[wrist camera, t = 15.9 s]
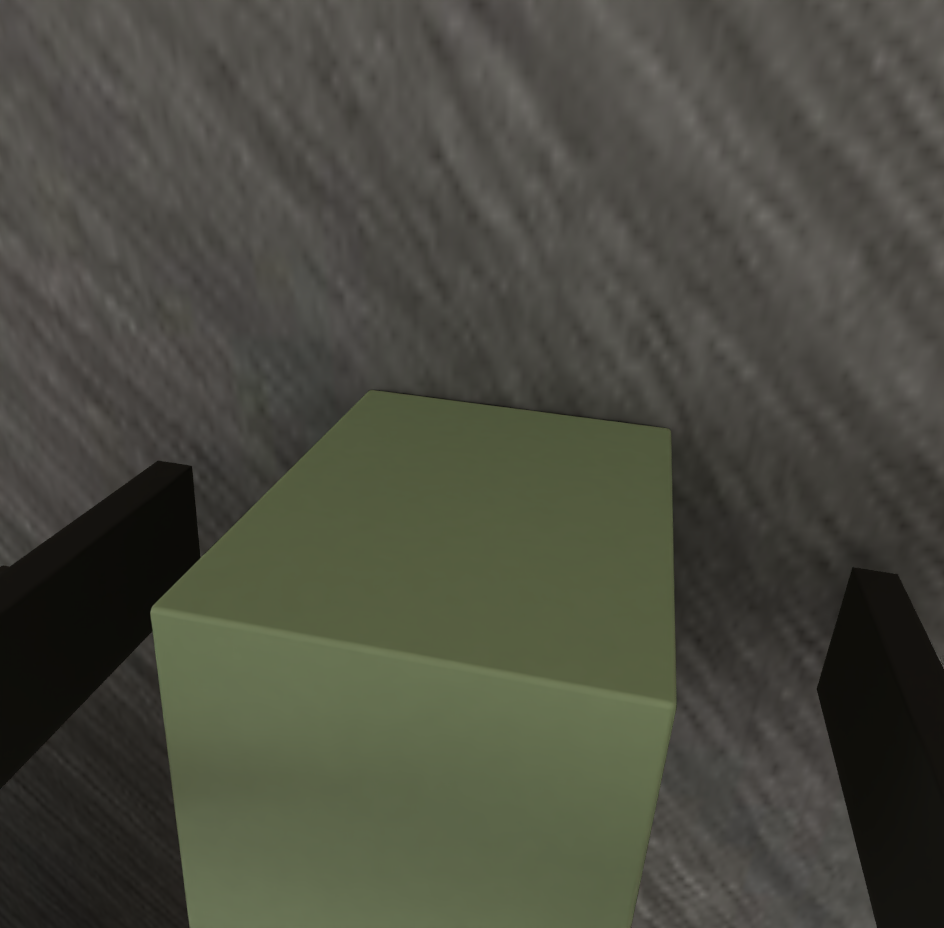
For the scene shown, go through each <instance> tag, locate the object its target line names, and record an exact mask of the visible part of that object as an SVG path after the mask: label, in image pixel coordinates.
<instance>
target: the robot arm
mask: <svg viewBox="0 0 944 928" xmlns="http://www.w3.org/2000/svg"><path fill="white" fill-rule="evenodd" d="M199 559H200V549H199V538H198V527H197V517H196V506H195V495H194V484H193V473H192V466H189V465H182V464H176V463H169V462H163V461H157V462H156V463H154V464H153V465H151V466H150V467H149V468H147V469H146V470H144V471H143V472H142V473H140V474H139V475H137V476H136V477H135V478H133V479H132V480H130V481H129V482H128V483H126V484H125V485H123V486H122V487H121V488H119V489H118V490H116V491H115V492H114V493H112V494H111V495H109V496H108V497H107V498H105V499H104V500H102V501H101V502H100V503H98V504H97V505H95V506H94V507H93V508H91V509H90V510H88V511H87V512H86V513H84V514H83V515H81V516H80V517H79V518H77V519H76V520H74V521H73V522H72V523H70V524H69V525H67V526H66V527H65V528H63V529H62V530H60V531H59V532H58V533H56V534H55V535H53V536H52V537H51V538H49V539H48V540H47V541H45V542H44V543H42V544H41V545H40V546H38V547H37V548H35V549H34V550H33V551H31V552H30V553H28V554H27V555H26V556H24V557H23V558H21V559H20V560H19V561H17V562H16V563H14V564H13V565H12V566H10V567H9V566H1V567H0V789H1V788H2V787H3V786H4V785H5V784H6V783H7V782H8V781H9V780H10V779H11V778H12V776H13V775H14V774H15V773H16V772H17V771H18V770H19V769H20V768H21V767H22V766H23V765H24V764H25V763H26V762H27V761H28V760H29V759H30V758H31V757H32V756H33V755H34V754H35V753H36V752H37V751H38V749H39V748H40V747H41V746H42V745H43V744H44V743H45V742H46V741H47V740H48V739H49V738H50V737H51V736H52V735H53V734H54V733H55V732H56V731H57V730H58V729H59V728H60V727H61V726H62V725H63V724H64V722H65V721H66V720H67V719H68V718H69V717H70V716H71V715H72V714H73V713H74V712H75V711H76V710H77V709H78V708H79V707H80V706H81V705H82V704H83V703H84V702H85V701H86V700H87V699H88V698H89V697H90V695H91V694H92V693H93V692H94V691H95V690H96V689H97V688H98V687H99V686H100V685H101V684H102V683H103V682H104V681H105V680H106V679H107V678H108V677H109V676H110V675H111V674H112V673H113V672H114V671H115V670H116V668H117V667H118V666H119V665H120V664H121V663H122V662H123V661H124V660H125V659H126V658H127V657H128V656H129V655H130V654H131V653H132V652H133V651H134V650H135V649H136V648H137V647H138V646H139V645H140V644H141V643H142V641H143V640H144V639H145V638H146V637H147V636H148V635H149V634H150V633H151V632H152V631H153V630H152V622H151V614H150V612H151V608H152V606H153V605H154V604H155V603H156V602H157V601H158V600H159V599H160V598H161V597H162V596H163V595H164V594H165V593H166V592H167V591H168V590H169V589H170V588H171V587H172V586H173V585H174V584H175V583H176V582H177V581H178V580H179V579H180V578H181V577H182V576H183V575H184V574H185V573H186V572H187V571H188V570H189V569H190V568H191V567H192V566H193V565H194V564H195V563H196V562H197V561H198V560H199ZM817 692H818V696H819V700H820V704H821V708H822V712H823V716H824V720H825V723H826V727H827V731H828V735H829V739H830V743H831V747H832V751H833V755H834V759H835V763H836V767H837V771H838V775H839V779H840V783H841V787H842V791H843V795H844V798H845V802H846V806H847V810H848V814H849V818H850V822H851V826H852V830H853V834H854V838H855V842H856V846H857V850H858V854H859V858H860V862H861V866H862V870H863V874H864V877H865V881H866V885H867V889H868V893H869V897H870V901H871V905H872V909H873V913H874V917H875V921H876V925H877V928H944V669H943V667H942V665H941V663H940V661H939V659H938V656H937V654H936V652H935V650H934V648H933V646H932V644H931V642H930V640H929V638H928V636H927V634H926V632H925V630H924V628H923V625H922V623H921V621H920V619H919V617H918V615H917V613H916V611H915V609H914V607H913V605H912V603H911V601H910V599H909V597H908V594H907V592H906V590H905V588H904V586H903V584H902V582H901V580H900V578H899V576H898V574H893V573H887V572H880V571H874V570H867V569H861V568H854V567H852V571H851V574H850V577H849V581H848V584H847V588H846V591H845V594H844V598H843V601H842V605H841V608H840V611H839V615H838V618H837V622H836V625H835V628H834V632H833V635H832V639H831V642H830V645H829V649H828V652H827V656H826V659H825V662H824V666H823V669H822V673H821V676H820V679H819V683H818V686H817Z"/></svg>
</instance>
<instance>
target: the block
mask: <svg viewBox="0 0 944 928" xmlns="http://www.w3.org/2000/svg"><path fill="white" fill-rule="evenodd" d="M150 614H151V622H152V630H153V638H154V646H155V654H156V662H157V670H158V678H159V686H160V694H161V702H162V710H163V718H164V726H165V734H166V742H167V750H168V758H169V766H170V774H171V782H172V790H173V798H174V806H175V814H176V822H177V830H178V838H179V846H180V854H181V862H182V870H183V878H184V886H185V894H186V902H187V910H188V918H189V926H190V928H631V925H632V920H633V915H634V911H635V906H636V901H637V896H638V891H639V886H640V882H641V877H642V872H643V867H644V862H645V857H646V853H647V848H648V843H649V838H650V833H651V828H652V824H653V819H654V814H655V809H656V804H657V799H658V794H659V790H660V785H661V780H662V775H663V770H664V765H665V761H666V756H667V751H668V746H669V741H670V736H671V732H672V727H673V722H674V717H675V712H676V707H677V701H676V651H675V601H674V552H673V502H672V453H671V431H670V430H669V429H667V428H659V427H652V426H644V425H636V424H629V423H621V422H613V421H606V420H598V419H590V418H583V417H575V416H567V415H560V414H552V413H544V412H537V411H529V410H521V409H514V408H506V407H498V406H490V405H483V404H475V403H467V402H460V401H452V400H444V399H437V398H429V397H421V396H414V395H406V394H398V393H391V392H383V391H375V390H370V391H368V392H367V393H366V394H365V395H364V396H363V397H362V398H361V399H360V400H359V401H358V402H357V403H356V404H355V405H354V406H353V407H352V408H351V409H350V410H349V411H348V412H347V413H346V414H345V415H344V416H343V417H342V418H341V419H340V420H339V421H338V422H337V423H336V424H335V425H334V426H333V427H332V428H331V429H330V430H329V431H328V432H327V433H326V434H325V435H324V436H323V437H322V438H321V439H320V440H319V441H318V442H317V443H316V444H315V445H314V446H313V447H312V448H311V449H310V450H309V451H308V452H307V453H306V454H305V455H304V456H303V457H302V458H301V459H300V460H299V461H298V462H297V463H296V464H295V465H294V466H293V467H292V468H291V469H290V470H289V471H288V472H287V473H286V474H285V475H284V476H283V477H282V478H281V479H280V480H279V481H278V482H277V483H276V484H275V485H274V486H273V487H272V488H271V489H270V490H269V491H268V492H267V493H266V494H265V495H264V496H263V497H262V498H261V499H260V500H259V501H258V502H257V503H256V504H255V505H254V506H253V507H252V508H251V509H250V510H249V511H248V512H247V513H246V514H245V515H244V516H243V517H242V518H241V519H240V520H239V521H238V522H237V523H236V524H235V525H234V526H232V527H231V528H230V529H229V530H228V531H227V532H226V533H225V534H224V535H223V536H222V537H221V538H220V539H219V540H218V541H217V542H216V543H215V544H214V545H213V546H212V547H211V548H210V549H209V550H208V551H207V552H206V553H205V554H204V555H203V556H202V557H201V558H200V559H199V560H198V561H197V562H196V563H195V564H194V565H193V566H192V567H191V568H190V569H189V570H188V571H187V572H186V573H185V574H184V575H183V576H182V577H181V578H180V579H179V580H178V581H177V582H176V583H175V584H174V585H173V586H172V587H171V588H170V589H169V590H168V591H167V592H166V593H165V594H164V595H163V596H162V597H161V598H160V599H159V600H158V601H157V602H156V603H155V604H154V605H153V606H152V608H151V612H150Z"/></svg>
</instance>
